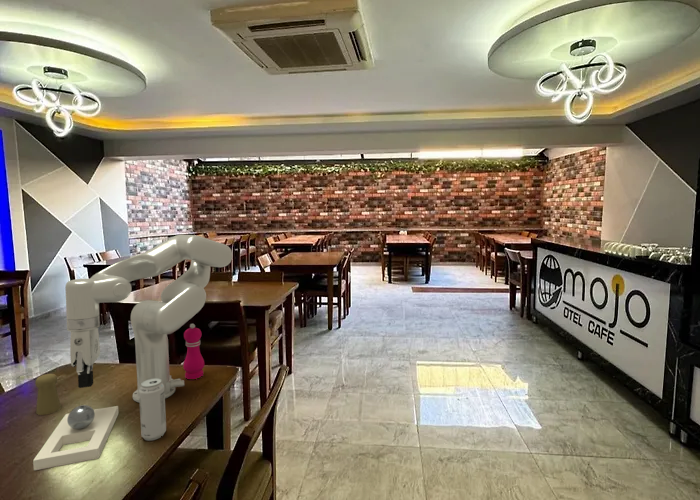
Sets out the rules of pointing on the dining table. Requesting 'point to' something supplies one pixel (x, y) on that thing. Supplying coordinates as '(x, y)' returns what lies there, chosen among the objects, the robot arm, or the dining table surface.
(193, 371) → the pepper mill
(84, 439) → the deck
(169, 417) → the dining table surface
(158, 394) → the energy drink can
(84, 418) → the ball
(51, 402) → the cork
